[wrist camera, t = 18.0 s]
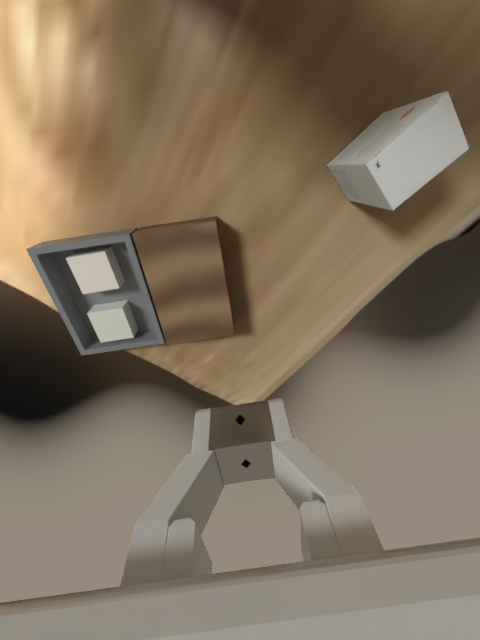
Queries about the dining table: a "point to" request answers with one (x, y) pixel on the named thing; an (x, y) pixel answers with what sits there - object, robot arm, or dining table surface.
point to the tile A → (96, 270)
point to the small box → (400, 152)
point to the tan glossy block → (187, 279)
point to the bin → (76, 304)
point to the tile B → (113, 321)
